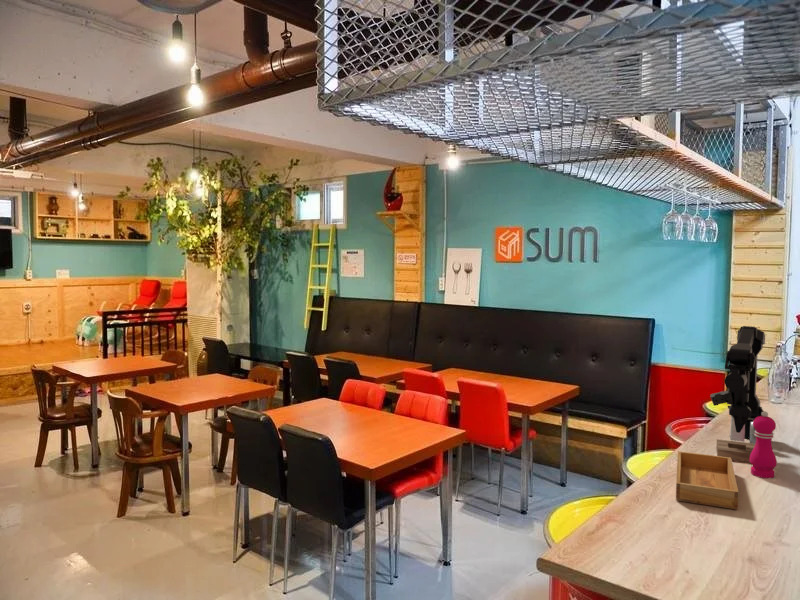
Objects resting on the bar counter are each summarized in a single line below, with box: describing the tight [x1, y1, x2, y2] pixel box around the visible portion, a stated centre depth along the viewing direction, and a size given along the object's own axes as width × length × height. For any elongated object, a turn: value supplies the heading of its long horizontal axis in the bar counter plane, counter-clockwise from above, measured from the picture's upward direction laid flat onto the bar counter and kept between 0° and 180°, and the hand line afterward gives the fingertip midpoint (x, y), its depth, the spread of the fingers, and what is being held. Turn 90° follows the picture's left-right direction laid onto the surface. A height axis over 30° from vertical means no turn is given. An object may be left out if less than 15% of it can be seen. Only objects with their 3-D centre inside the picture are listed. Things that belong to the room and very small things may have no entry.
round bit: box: [749, 421, 756, 444], centre depth 208 cm, size 4×4×9 cm
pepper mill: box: [749, 410, 778, 479], centre depth 182 cm, size 7×7×20 cm
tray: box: [675, 451, 739, 510], centre depth 174 cm, size 31×15×6 cm, turn 154°
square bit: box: [729, 415, 746, 442], centre depth 200 cm, size 4×4×9 cm
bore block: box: [716, 438, 755, 463], centre depth 200 cm, size 12×12×3 cm
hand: (737, 430), depth 200 cm, fingers closed on square bit, 4 cm apart
